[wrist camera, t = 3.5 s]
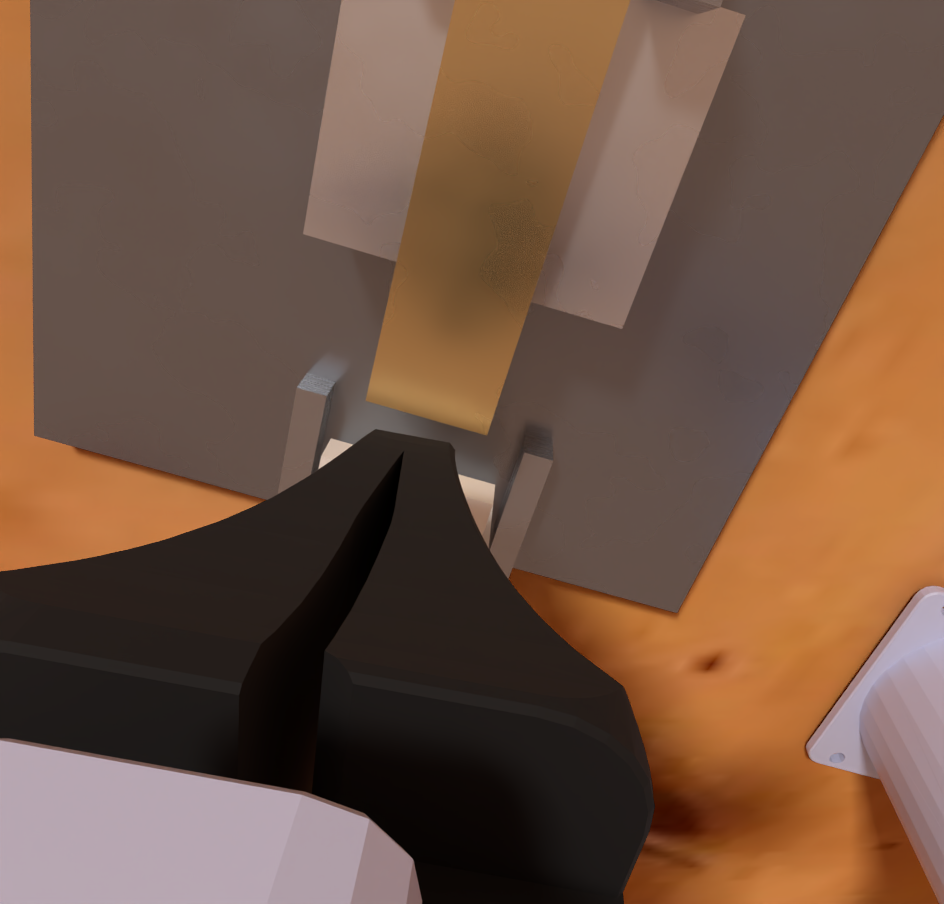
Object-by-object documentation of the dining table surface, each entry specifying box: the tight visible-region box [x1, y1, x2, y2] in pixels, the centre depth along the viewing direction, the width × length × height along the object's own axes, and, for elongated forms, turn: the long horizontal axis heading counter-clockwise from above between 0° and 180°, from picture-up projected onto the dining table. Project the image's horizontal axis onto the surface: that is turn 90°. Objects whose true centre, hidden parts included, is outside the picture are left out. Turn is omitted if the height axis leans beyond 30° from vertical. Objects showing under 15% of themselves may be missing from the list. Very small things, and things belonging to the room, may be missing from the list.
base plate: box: [30, 0, 944, 613], centre depth 16 cm, size 20×19×6 cm
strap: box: [366, 0, 630, 435], centre depth 14 cm, size 3×10×1 cm, turn 164°
